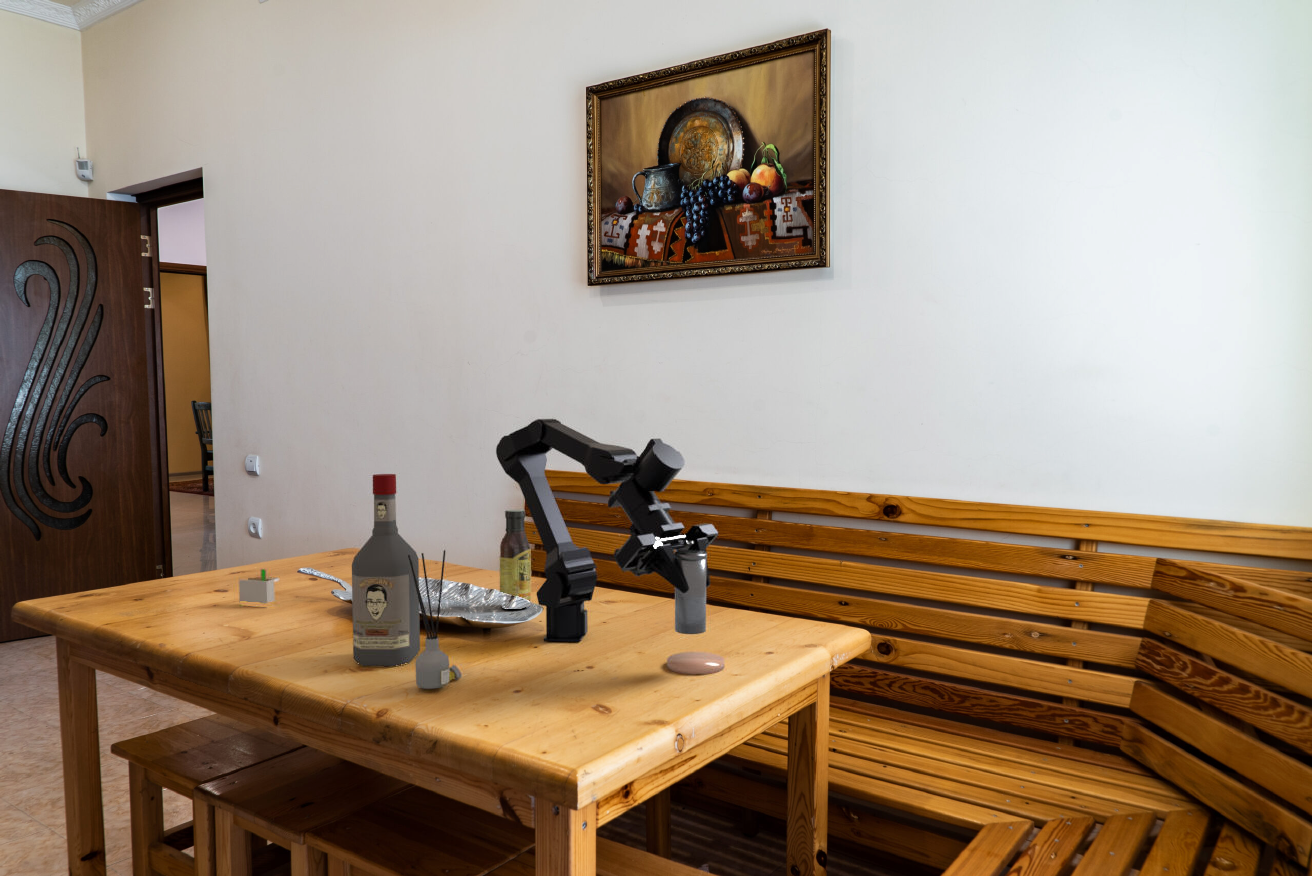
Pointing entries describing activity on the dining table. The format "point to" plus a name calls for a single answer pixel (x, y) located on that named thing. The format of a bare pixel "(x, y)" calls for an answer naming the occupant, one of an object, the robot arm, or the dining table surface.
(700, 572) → the canister
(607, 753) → the dining table surface
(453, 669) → the reed diffuser
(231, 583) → the dining table surface
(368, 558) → the liquor
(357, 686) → the dining table surface
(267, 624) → the dining table surface
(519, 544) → the sauce bottle
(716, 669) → the soap bar
